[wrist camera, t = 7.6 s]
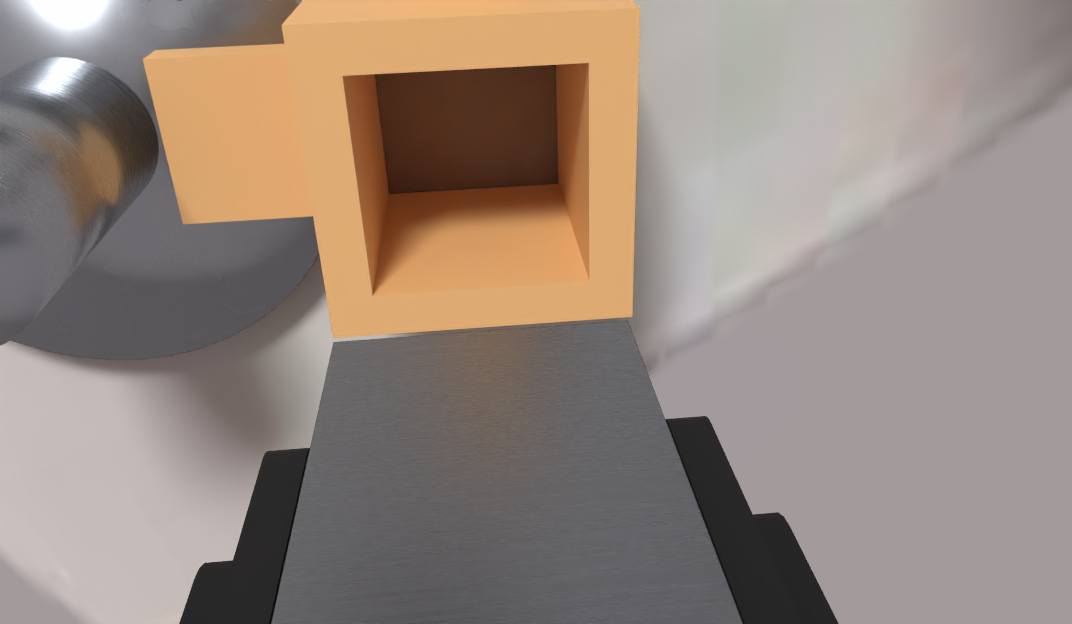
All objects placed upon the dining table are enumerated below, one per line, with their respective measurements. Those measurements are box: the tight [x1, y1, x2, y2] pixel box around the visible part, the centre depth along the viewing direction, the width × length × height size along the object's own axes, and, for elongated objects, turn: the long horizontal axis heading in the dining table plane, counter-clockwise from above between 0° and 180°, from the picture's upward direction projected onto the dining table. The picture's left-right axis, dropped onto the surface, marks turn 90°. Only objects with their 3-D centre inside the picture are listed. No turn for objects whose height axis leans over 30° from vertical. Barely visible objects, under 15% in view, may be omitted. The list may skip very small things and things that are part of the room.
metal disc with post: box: [0, 0, 319, 360], centre depth 23 cm, size 16×16×10 cm
